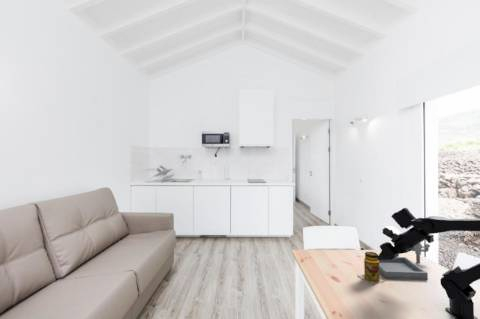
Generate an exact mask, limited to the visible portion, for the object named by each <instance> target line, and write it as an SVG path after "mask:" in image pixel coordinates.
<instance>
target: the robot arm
mask: <svg viewBox="0 0 480 319" xmlns="http://www.w3.org/2000/svg"><path fill="white" fill-rule="evenodd" d="M391 218H392V219H393V221H395V223H396V224H397V225H398V226H399V227H400V228H401V229H405V230H406V231H404V232H401V231H400V230H399V229H397V228H395V227H394V226H392V225H391V224H390V225H385V226H384V227H383V229H382V234H383V235H385V236H386V237H388V238H390V241H391V242H392V243H393V244H392V243H391V242H388V241H386V242H383V243H381V244H380V245H379V248H380V250H381V251H380V253H379V254H378V257H377V259H378V260H392V259H395V258H396V257H400V255H401V254H406V253H407V254H408V253H409V252H412V251H411V250H413V249H415V246H416V245H418V244H419V243H422V242H423V241H426V242H427V244H431V243H434V242H435V239H434V237H435V236H434V234H440V233H446V232H452V231H454V232H480V218H448V217H443V216H437V215H430V216H427V217H417V218H416V217H415V216H414V215H413V214H412V213H411V212H410V210H409V209H408V208H407V207H403V208H402V209H401V210H398V211H396V212H394V213H393V214H392V215H391ZM441 275H442V277H441V278H440V285H441V287H442V289H443V290H444V291H445V292H446V293H445V294H446V296H447V298H448V301H449V307H445V310H446V311H447V312H448V313H449V314H450V315H452V316H453V317H454V318H455V319H479V318H478V317H477V316H475V314H474V313H475V312H474V310H475V308H474V306H475V305H474V303H475V302H473V299H472V298H473V297H475V296H476V294H477V291H476V290H475V289H474V288H473V287H472V286H471V284H473V283H474V282H476V281H479V280H480V263H477V264H474V265H472V266H470V267H468V268H465V269H461V267H460V266H459V265H458V266H456V267H454V268H453V269H449V270H448V271H446V272H444V273H443V274H441Z"/></svg>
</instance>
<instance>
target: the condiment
mask: <svg viewBox="0 0 480 319" xmlns="http://www.w3.org/2000/svg"><path fill="white" fill-rule="evenodd" d="M378 255H379V254H378V253H377V252H375V251H374V252H373V251H366V252H365V253H364V259H363V261H364V264H363V266H364V267H363V268H364V270H363V271H364V274H360V275H358V277H359V278H361V279H362V280H363V281H365V282H367V283H369V284H370V285H375V284H380V283H383V282H385V280H383V279H381V277H380V276H381V273H380V272H379V260H378V259H377V257H378Z"/></svg>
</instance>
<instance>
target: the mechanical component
mask: <svg viewBox="0 0 480 319" xmlns="http://www.w3.org/2000/svg"><path fill="white" fill-rule="evenodd" d="M429 250H430V243H424V245H422V242H420V243H419V244H418V245H416V246H415V249H413V250H411V251H410V252H414V253H415V255H416V256H415V258H416V263H417V264H421V255H422V253H421V252H423V253H427V252H429Z"/></svg>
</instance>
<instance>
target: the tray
mask: <svg viewBox="0 0 480 319" xmlns="http://www.w3.org/2000/svg"><path fill="white" fill-rule="evenodd" d="M379 273H380V275H382V276H383V277H384V278H385V279H398V280H399V279H400V280H401V279H404V280H428V278H429V277H428V276H429V275H428V272H427V271H426V270H424V269H423V268H422V267H420V266H418V265H417V264H416V263H414V262H413V261H411V260H410V259H409V258H408V257H406V256H398V257H396V258H395V259H392V260H379Z"/></svg>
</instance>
